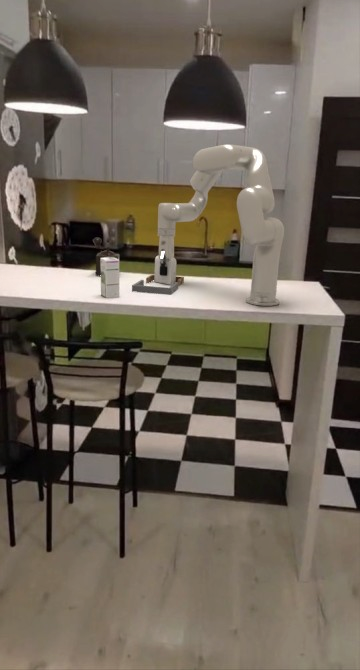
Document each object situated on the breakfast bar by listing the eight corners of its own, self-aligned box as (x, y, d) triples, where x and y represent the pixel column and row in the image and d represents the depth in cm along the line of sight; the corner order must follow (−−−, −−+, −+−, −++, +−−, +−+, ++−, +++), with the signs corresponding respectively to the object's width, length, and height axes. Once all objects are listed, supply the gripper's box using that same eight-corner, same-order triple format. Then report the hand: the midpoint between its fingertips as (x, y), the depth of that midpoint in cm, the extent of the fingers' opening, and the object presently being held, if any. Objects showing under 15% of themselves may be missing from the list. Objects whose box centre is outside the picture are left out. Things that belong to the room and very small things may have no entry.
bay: (170, 294, 201) (171, 288, 200) (132, 291, 204) (132, 285, 203) (178, 288, 213) (178, 282, 213) (141, 285, 216) (141, 279, 216)
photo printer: (177, 284, 223) (178, 255, 219) (171, 285, 219) (172, 256, 216) (158, 281, 228) (159, 253, 225) (152, 282, 225) (153, 254, 221)
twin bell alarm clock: (96, 272, 244) (96, 234, 239) (119, 273, 245) (120, 235, 240) (92, 278, 229) (92, 237, 224) (117, 278, 230) (117, 238, 225)
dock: (179, 286, 219) (179, 280, 218) (146, 283, 221) (146, 277, 221) (183, 282, 227) (184, 276, 226) (151, 280, 230) (151, 274, 229)
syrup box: (120, 297, 192) (120, 259, 188) (105, 298, 190) (105, 259, 185) (114, 294, 197) (114, 256, 193) (100, 295, 194) (99, 257, 190)
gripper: (170, 234, 209) (169, 278, 214) (179, 231, 225) (177, 272, 230) (152, 233, 210) (151, 276, 215) (162, 230, 226) (161, 270, 231)
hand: (165, 273), depth 223 cm, fingers closed on photo printer, 5 cm apart
